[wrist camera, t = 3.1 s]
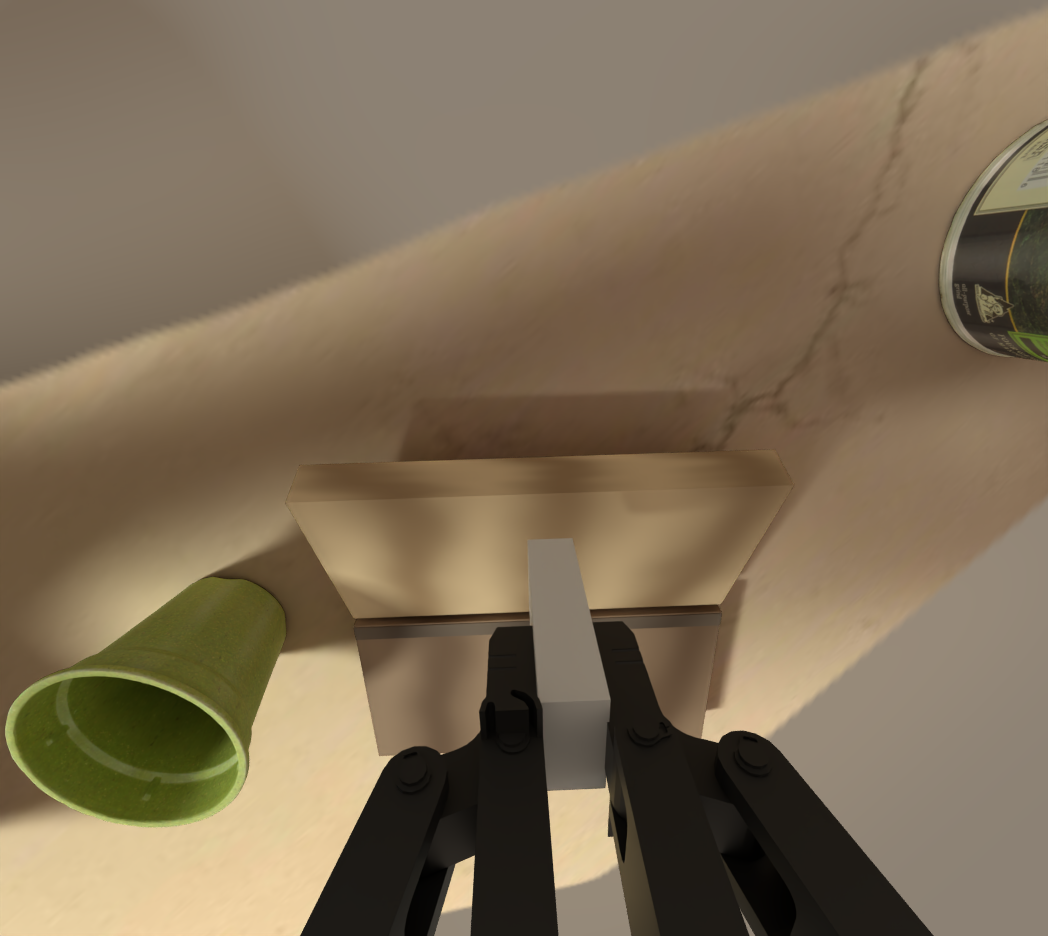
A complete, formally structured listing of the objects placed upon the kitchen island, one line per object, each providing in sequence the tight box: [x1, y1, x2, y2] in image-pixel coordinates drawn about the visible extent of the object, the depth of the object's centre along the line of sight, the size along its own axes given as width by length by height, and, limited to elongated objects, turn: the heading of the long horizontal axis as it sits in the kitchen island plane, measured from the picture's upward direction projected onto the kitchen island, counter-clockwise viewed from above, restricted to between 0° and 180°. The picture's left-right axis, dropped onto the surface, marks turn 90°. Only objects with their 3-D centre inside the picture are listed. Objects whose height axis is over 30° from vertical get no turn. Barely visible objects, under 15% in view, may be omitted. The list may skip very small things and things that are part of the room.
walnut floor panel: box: [354, 604, 722, 756], centre depth 29 cm, size 20×10×2 cm, turn 91°
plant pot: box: [5, 577, 286, 827], centre depth 24 cm, size 9×9×9 cm
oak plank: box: [285, 449, 794, 619], centre depth 23 cm, size 20×10×2 cm, turn 91°
